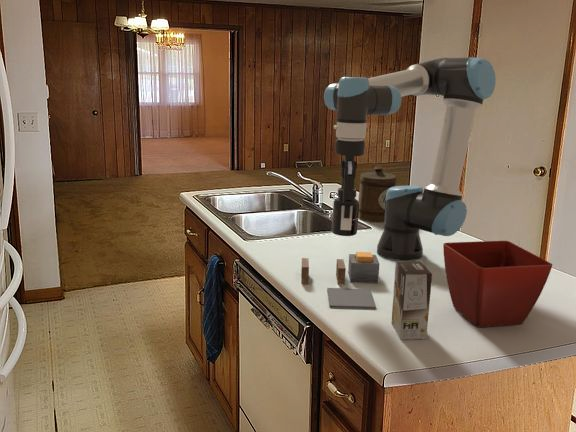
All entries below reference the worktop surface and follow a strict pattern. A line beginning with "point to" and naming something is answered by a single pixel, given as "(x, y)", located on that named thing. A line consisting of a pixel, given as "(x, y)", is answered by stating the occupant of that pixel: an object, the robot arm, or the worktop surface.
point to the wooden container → (374, 194)
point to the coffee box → (411, 299)
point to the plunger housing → (363, 270)
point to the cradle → (339, 271)
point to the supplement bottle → (337, 215)
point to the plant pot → (494, 281)
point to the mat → (350, 298)
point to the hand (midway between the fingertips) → (345, 225)
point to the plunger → (364, 257)
